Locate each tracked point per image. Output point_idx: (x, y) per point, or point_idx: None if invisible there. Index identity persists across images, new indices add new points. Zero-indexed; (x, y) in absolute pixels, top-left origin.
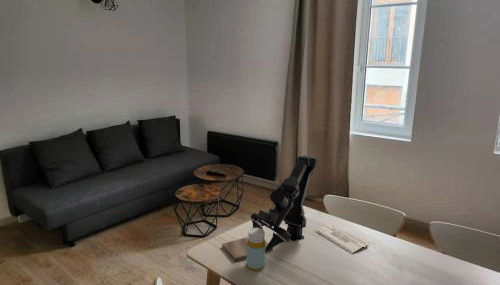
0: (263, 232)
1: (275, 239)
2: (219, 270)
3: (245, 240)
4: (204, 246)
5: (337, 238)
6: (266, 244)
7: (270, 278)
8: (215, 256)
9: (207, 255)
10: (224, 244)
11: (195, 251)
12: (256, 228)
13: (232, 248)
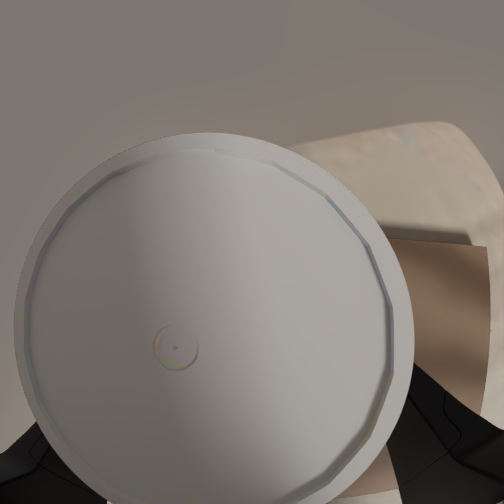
0: (80, 455)
1: (5, 455)
2: (310, 144)
3: (467, 383)
4: (489, 186)
5: None
6: (372, 480)
7: None
8: (420, 183)
9: (434, 159)
10: (480, 254)
11: (465, 140)
12: (345, 449)
13: (441, 274)
